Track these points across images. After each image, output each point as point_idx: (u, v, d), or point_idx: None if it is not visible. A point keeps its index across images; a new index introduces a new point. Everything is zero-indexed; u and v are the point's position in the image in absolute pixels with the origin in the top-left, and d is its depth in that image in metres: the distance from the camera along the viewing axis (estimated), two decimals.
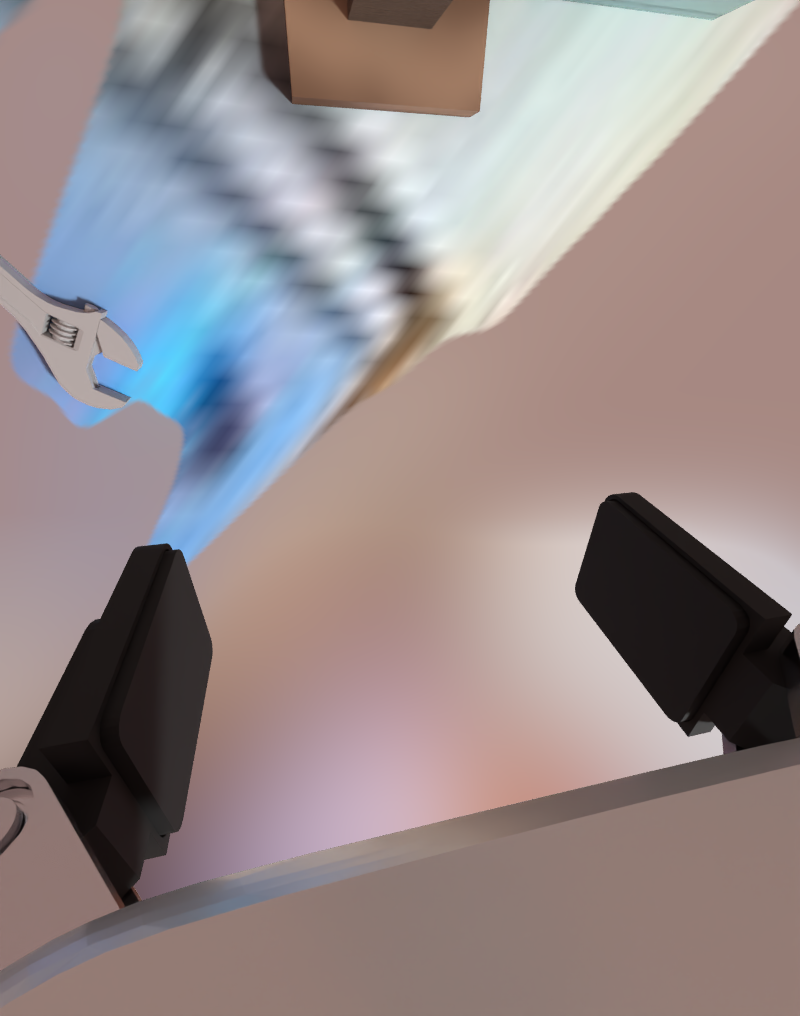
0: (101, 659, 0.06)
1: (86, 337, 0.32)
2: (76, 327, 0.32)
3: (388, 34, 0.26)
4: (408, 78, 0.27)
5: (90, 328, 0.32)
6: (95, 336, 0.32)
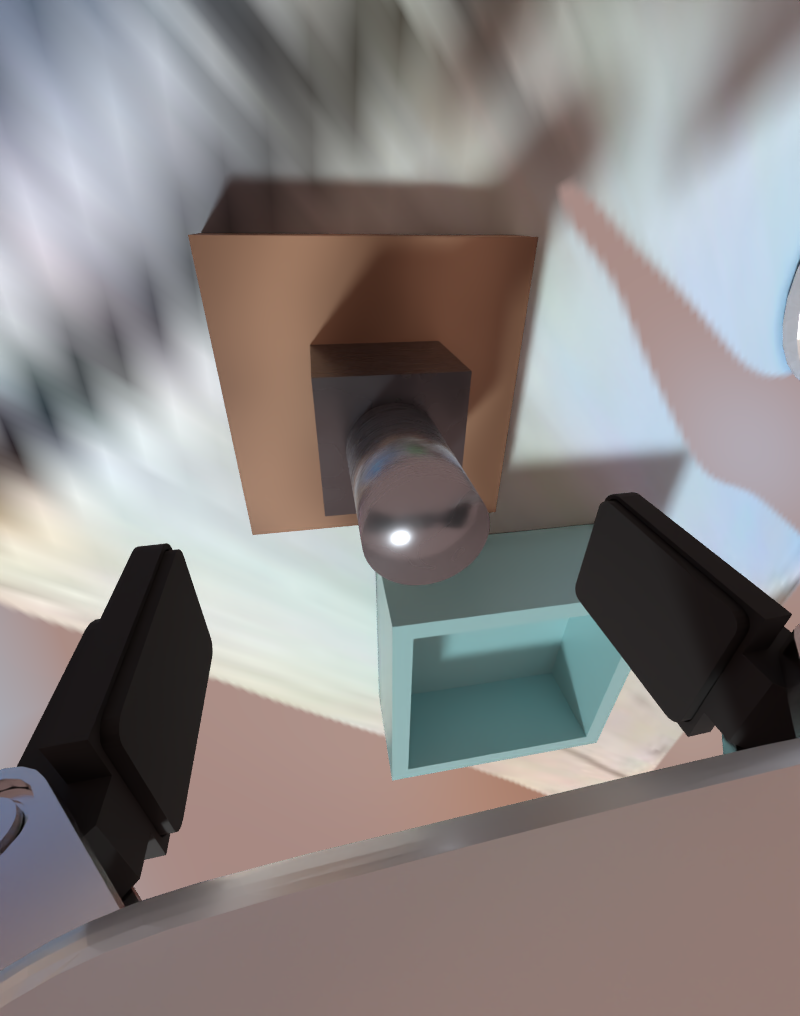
0: (101, 659, 0.06)
1: None
2: None
3: (305, 406, 0.18)
4: (263, 438, 0.18)
5: None
6: None
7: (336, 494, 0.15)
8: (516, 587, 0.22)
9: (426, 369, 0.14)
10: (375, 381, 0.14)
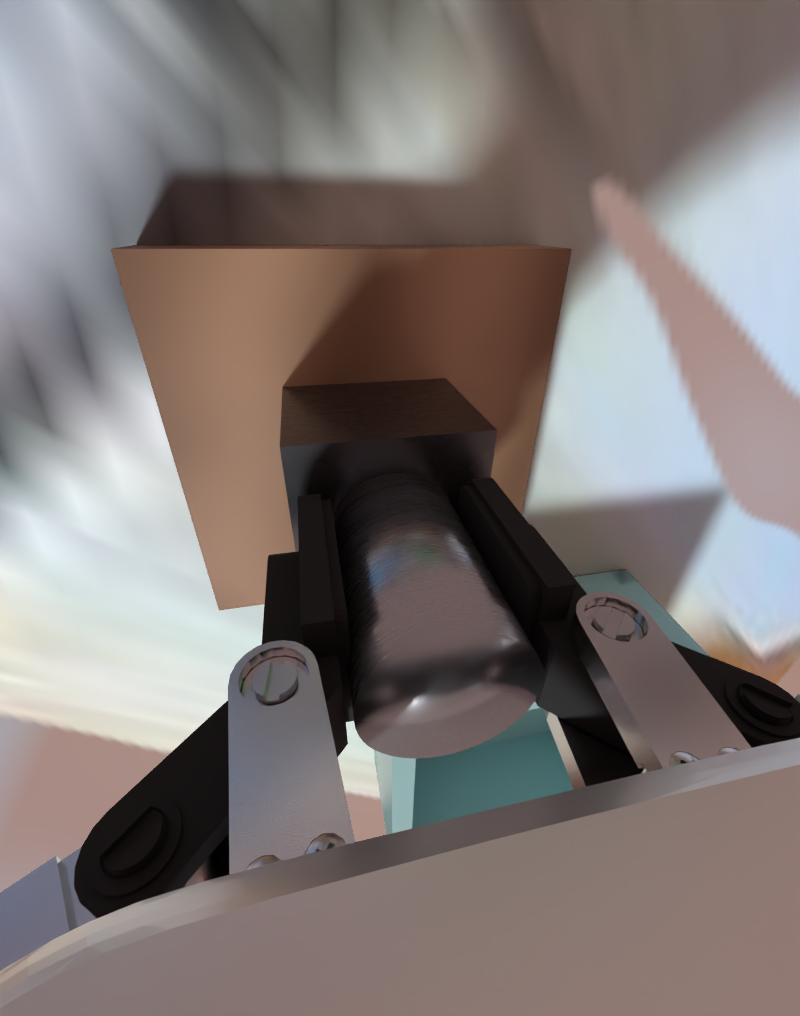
0: (315, 570, 0.07)
1: None
2: None
3: (279, 461, 0.14)
4: (227, 500, 0.15)
5: None
6: None
7: None
8: None
9: (436, 427, 0.10)
10: (368, 447, 0.10)
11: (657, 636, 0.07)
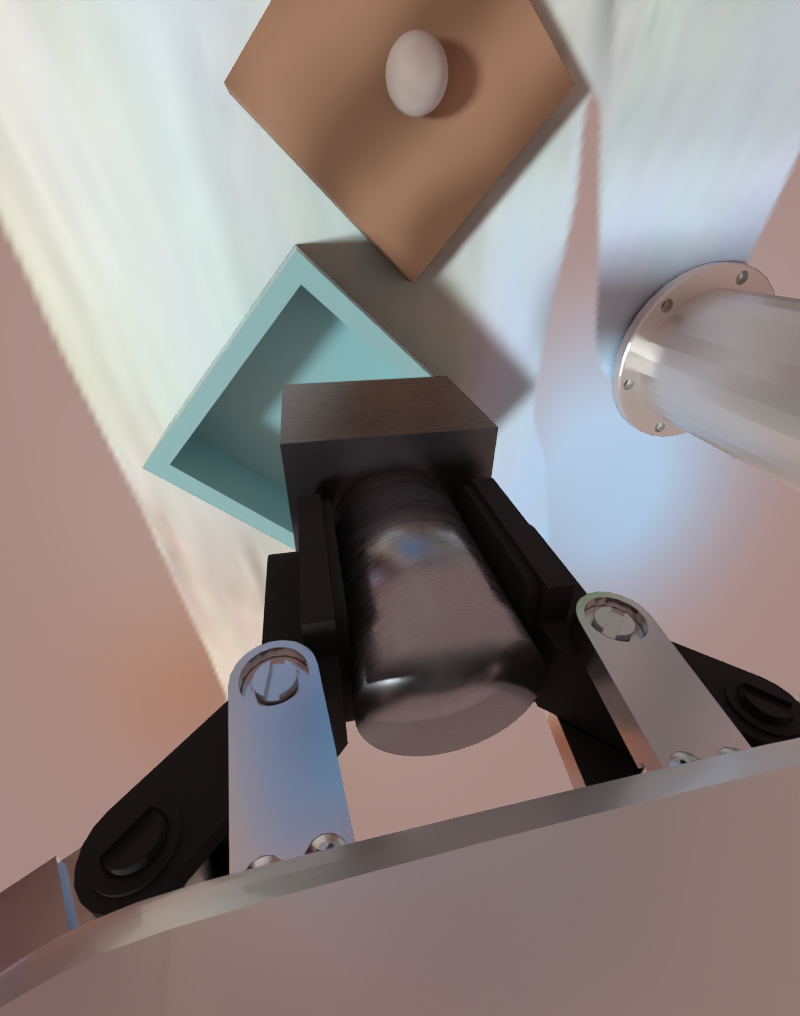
0: (315, 570, 0.07)
1: None
2: None
3: (365, 17, 0.19)
4: (313, 2, 0.19)
5: None
6: None
7: None
8: None
9: (436, 425, 0.10)
10: (368, 444, 0.10)
11: (657, 636, 0.07)
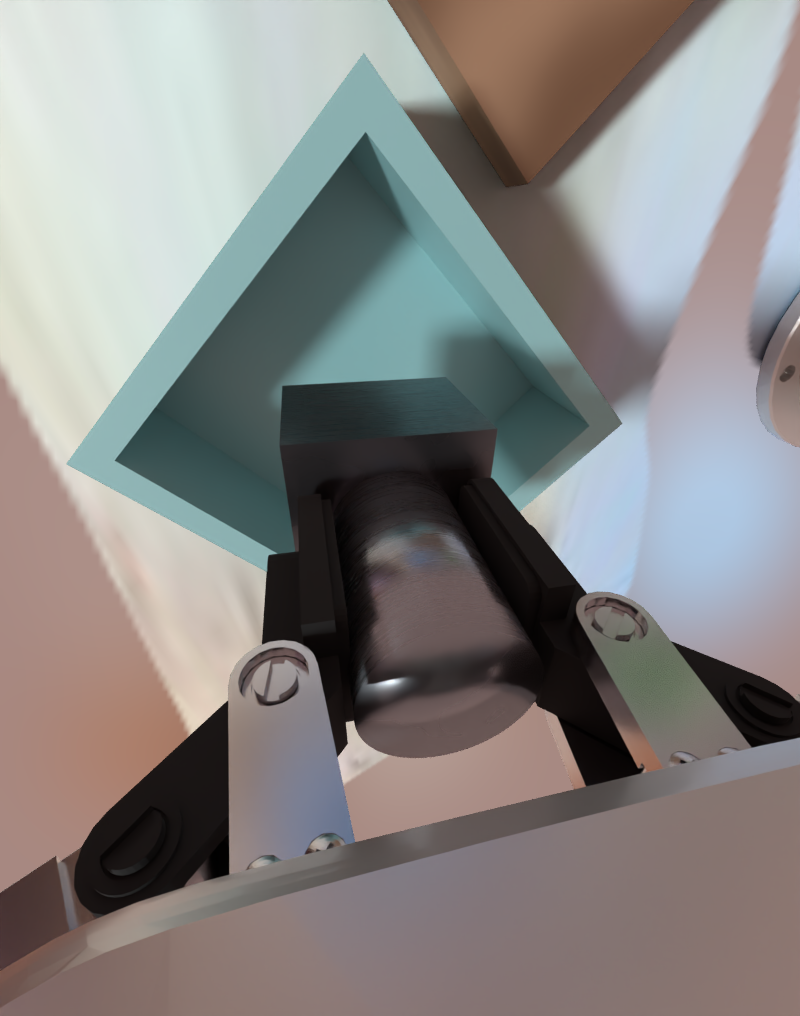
0: (315, 570, 0.07)
1: None
2: None
3: None
4: None
5: None
6: None
7: None
8: None
9: (436, 426, 0.10)
10: (368, 446, 0.10)
11: (657, 636, 0.07)
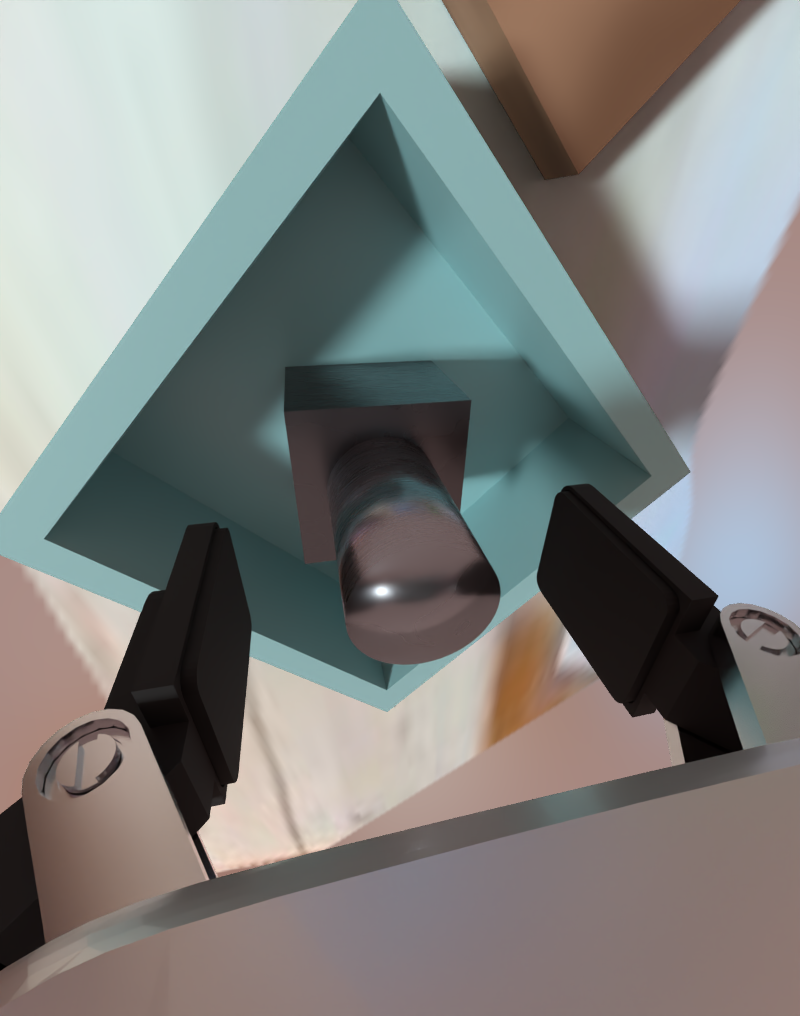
0: (173, 619, 0.07)
1: None
2: None
3: None
4: None
5: None
6: None
7: (317, 539, 0.13)
8: None
9: (419, 398, 0.12)
10: (359, 413, 0.12)
11: None
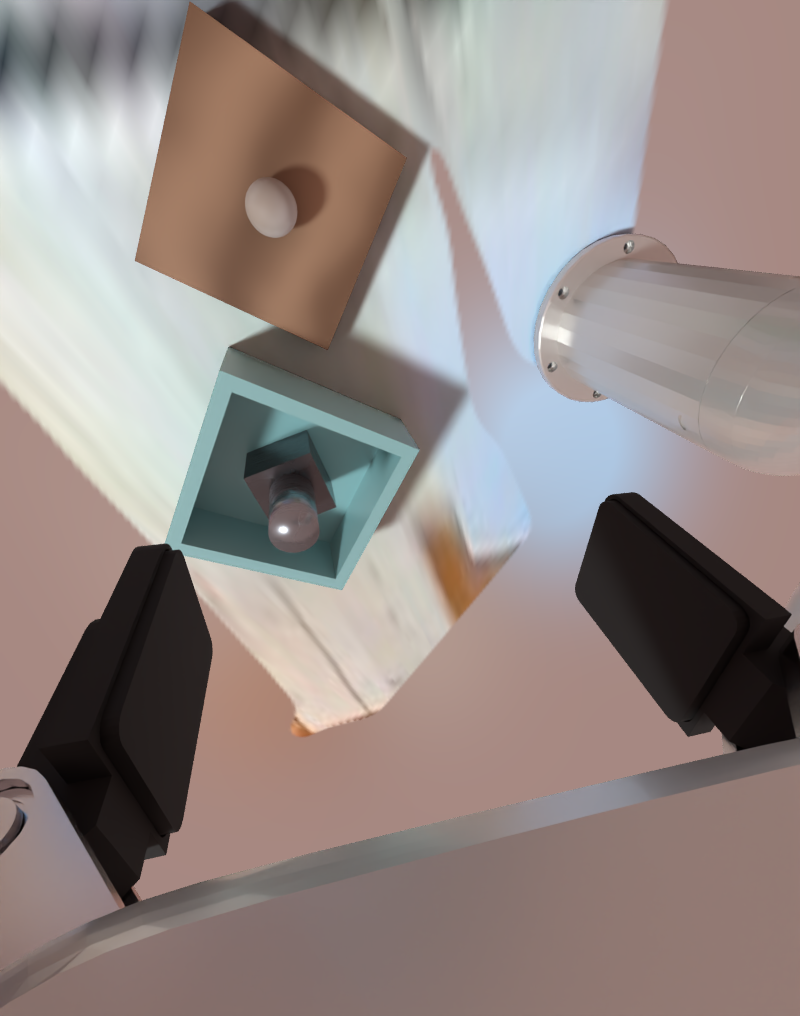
0: (101, 659, 0.06)
1: None
2: None
3: (220, 177, 0.24)
4: (179, 182, 0.24)
5: None
6: None
7: None
8: (322, 404, 0.30)
9: (291, 457, 0.31)
10: (270, 470, 0.31)
11: None
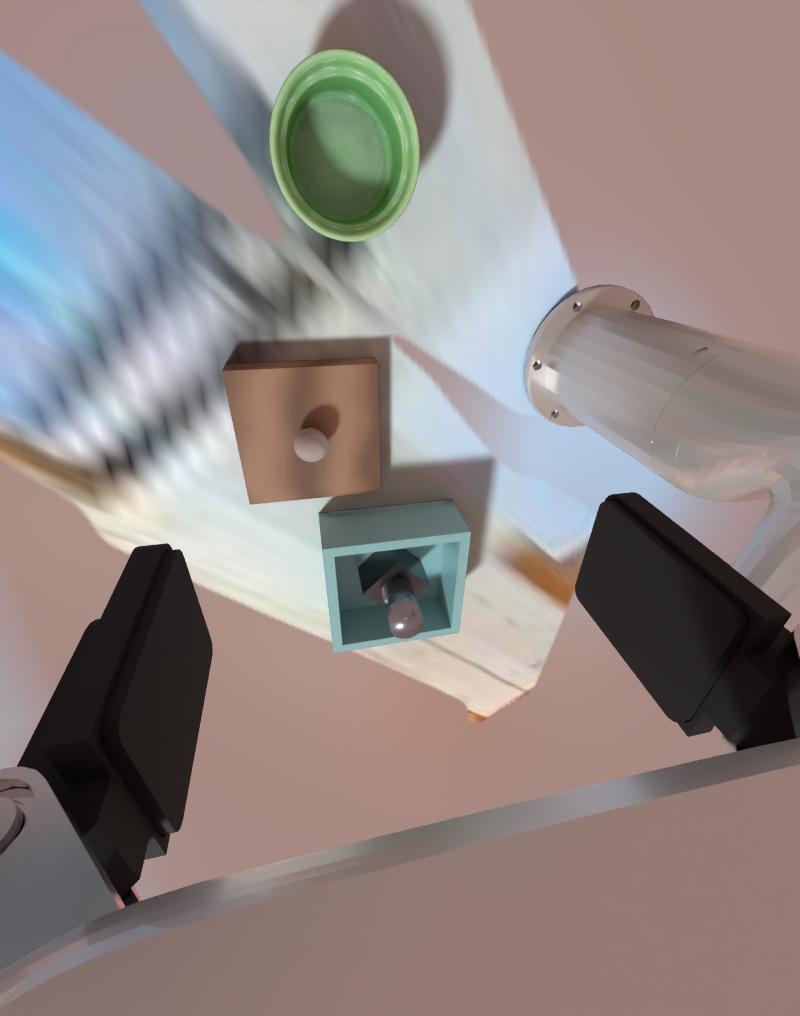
0: (101, 659, 0.06)
1: None
2: None
3: (275, 439, 0.37)
4: (255, 455, 0.38)
5: None
6: None
7: None
8: (391, 531, 0.42)
9: (386, 569, 0.44)
10: (377, 583, 0.44)
11: None
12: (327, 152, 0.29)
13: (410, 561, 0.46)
